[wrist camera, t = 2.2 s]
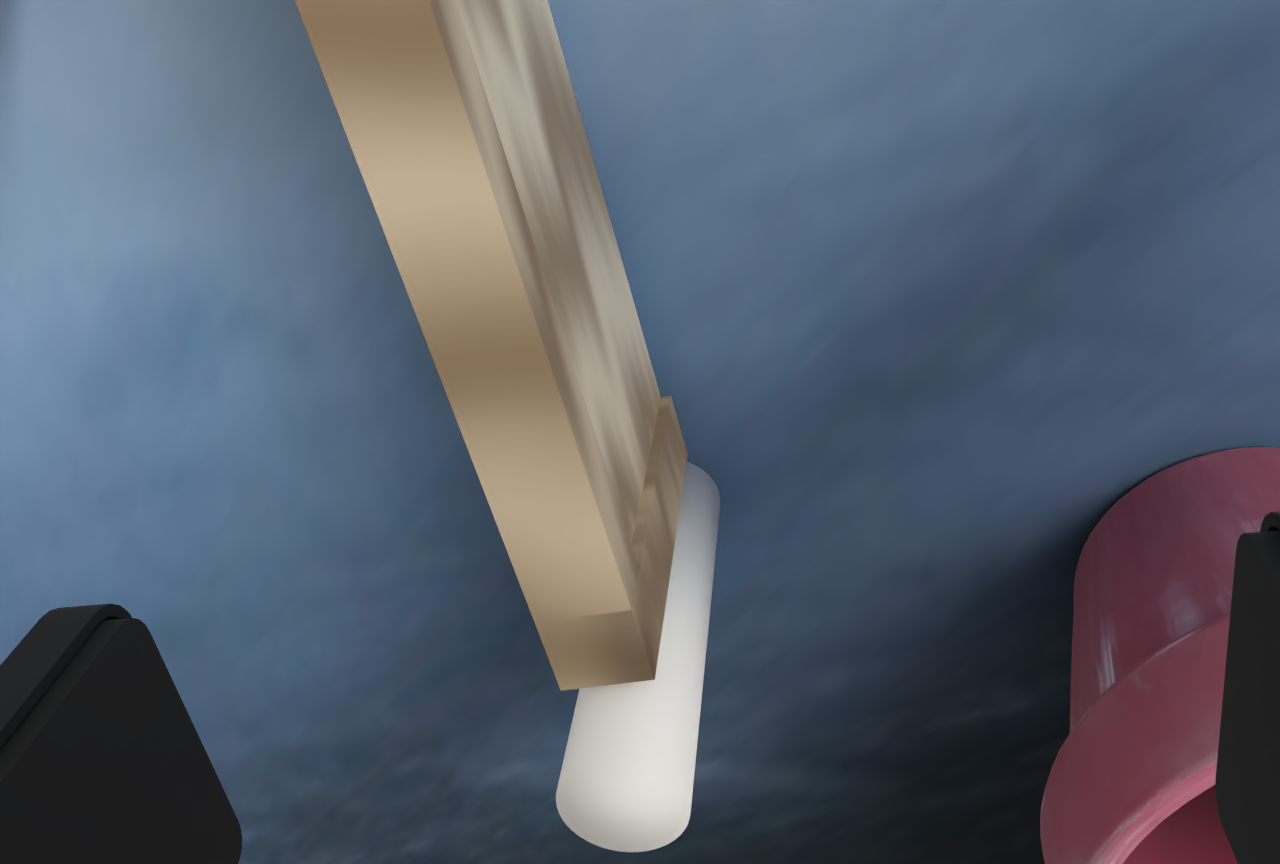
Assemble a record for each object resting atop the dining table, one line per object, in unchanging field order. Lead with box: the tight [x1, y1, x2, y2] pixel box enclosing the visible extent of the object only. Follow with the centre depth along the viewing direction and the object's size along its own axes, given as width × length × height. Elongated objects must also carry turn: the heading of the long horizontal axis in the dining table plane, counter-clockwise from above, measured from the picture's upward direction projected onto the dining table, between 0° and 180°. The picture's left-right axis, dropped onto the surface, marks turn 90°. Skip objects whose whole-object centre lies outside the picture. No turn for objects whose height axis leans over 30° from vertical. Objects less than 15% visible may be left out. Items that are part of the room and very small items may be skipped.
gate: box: [295, 0, 688, 691], centre depth 26 cm, size 18×2×9 cm, turn 15°
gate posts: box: [556, 462, 720, 852], centre depth 26 cm, size 4×26×12 cm, turn 15°
